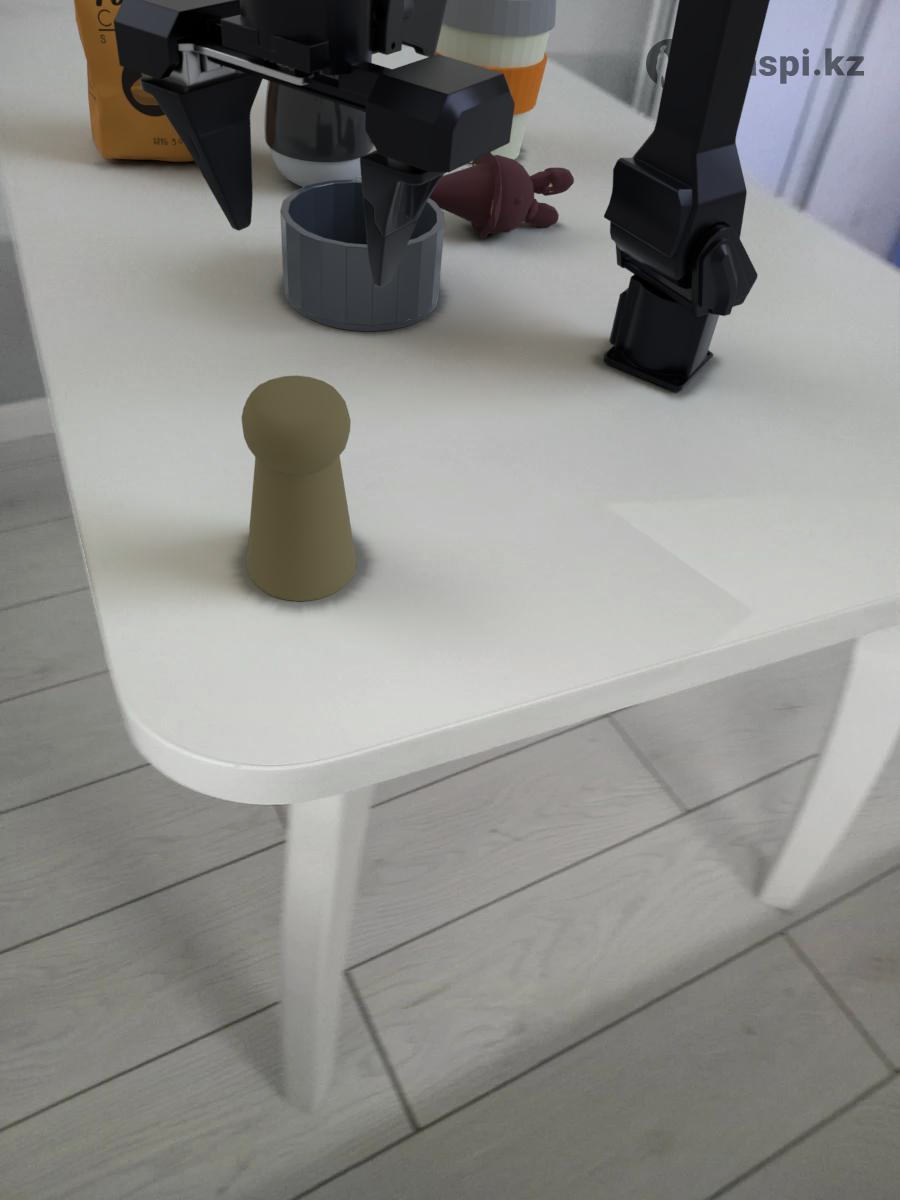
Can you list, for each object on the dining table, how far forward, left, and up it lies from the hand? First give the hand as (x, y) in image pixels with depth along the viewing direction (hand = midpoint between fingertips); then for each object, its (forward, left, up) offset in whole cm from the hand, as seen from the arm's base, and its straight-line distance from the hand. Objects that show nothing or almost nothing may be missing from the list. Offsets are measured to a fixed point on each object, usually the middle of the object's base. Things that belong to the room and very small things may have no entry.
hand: (310, 254), depth 47 cm
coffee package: (+44, -29, -14) cm, 54 cm away
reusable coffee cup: (+23, -54, -14) cm, 60 cm away
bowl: (+12, -20, -14) cm, 27 cm away
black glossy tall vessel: (+29, -35, -14) cm, 47 cm away
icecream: (+11, -37, -14) cm, 41 cm away
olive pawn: (-5, +7, -14) cm, 16 cm away
